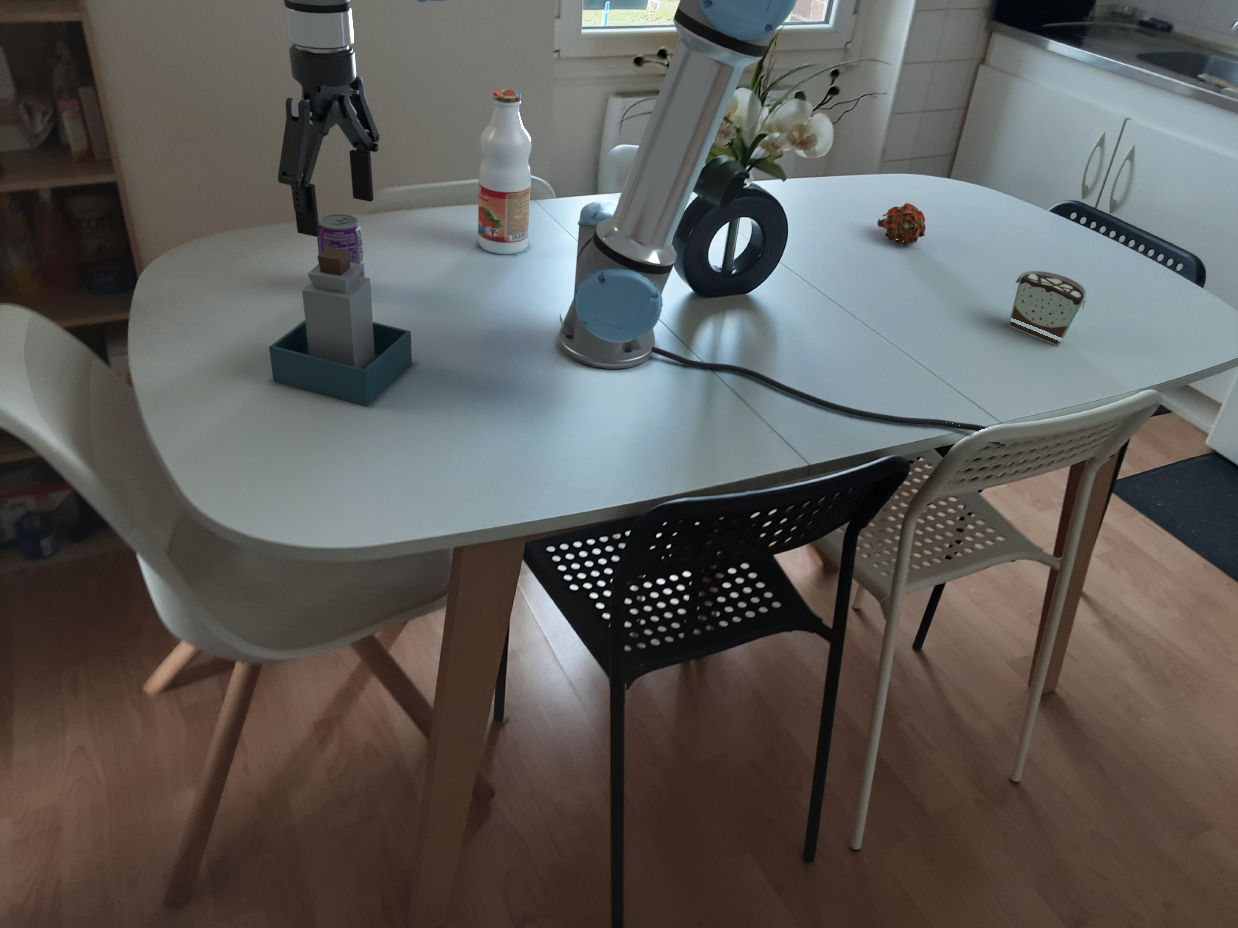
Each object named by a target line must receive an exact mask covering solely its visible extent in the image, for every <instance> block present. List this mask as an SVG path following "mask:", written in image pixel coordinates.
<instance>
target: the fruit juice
mask: <svg viewBox="0 0 1238 928" xmlns="http://www.w3.org/2000/svg"><path fill="white" fill-rule="evenodd" d="M492 102H493V104H494V107H493V113H492V116H491V119H490V121H489V123H488V125H487V126H486V127H485V128H484V129H483V131H482V132H481V135H480V138H479V148H480V152H481V156H482V157H481V162H480V164H479V168H478V206H477V207H478V209H477V211H478V213H477V214H478V215H477V216H478V219H477V220H478V221H477V241H478V244H479V246H480V247H481V249H483V250H485V251H487V252H490V253H492V254H499V255H513V254H517V253H521V252H523V251H525V249H527V247H528V244H529V232H530V231H529V230H530V210H531V209H530V205H531V185H532V175H531V172H532V171H531V167H530V164H529V159H530V155H531V153H532V138H531V136H530V134H529V132H528V131H527V129H525V127H524V125H523V122H522V118H521V114H520V105H521V103H522V93H521V92H520V91H518V90H515V89H510V88H499V89H495V90H493V92H492Z"/></svg>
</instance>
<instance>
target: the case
mask: <svg viewBox="0 0 1238 928" xmlns="http://www.w3.org/2000/svg"><path fill="white" fill-rule="evenodd" d="M373 336H374V352H375V360H374V361H373V362H372V363H371V364H370V365H369V366H368V367H366V368H365V369H360V368H357V367H353V366H349V365H345V364H341V363H337V362H333V361H329V360H326V359H322V358H318V357H314V356H310V355H309V349H308V340H307V330H306V321H305V319H304V320H302V321H301V322H300V323H299V324H298V325H296V326H294V328H292V329H291V330H290V331H288V332H287V333H285V334H284V335H283V336H282V337H280V338H279V339H277V340H276V341H274V343H272V344H270V345H269V346H268V351H269V358H270V365H271V373H272V378H273V379H272V381H273V382H275V383H278V384H283V385H286V386H290V387H294V388H297V389H300V390H301V389H302V390H306V391H309V392H313V393H316V394H320V395H324V396H328V397H331V398H335V399H339V400H343V401H347V402H350V403H354V404H358V405H360V406H361V405H362V406H364V407H369V406H370V405H371V404H372V403H373V402H374V401H375V400H377V398H378V397H380V396H381V394H383V393H384V392H385V391H386V390H387V389H388V388H389V387H390V386H391V385H392V384H393V383H395V381H396V380H397V379H398V378H399V377H400V376H401V375H403V374H404V373H405V372H406V371H407V370H408V369H409V368H410V367H411V366H412V365H413V358H412V357H413V356H412V331H411V330H407V329H404V328H399V327H396V326H392V325H387V324H383V323H381V322H376V321H373Z"/></svg>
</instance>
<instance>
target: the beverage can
mask: <svg viewBox="0 0 1238 928" xmlns="http://www.w3.org/2000/svg"><path fill="white" fill-rule="evenodd" d="M318 221H319V231H320V235H319V236H317V237H316V239H317V240H316V241H317V250H318V251H317V252H318V255H319V254H320V253H322V252H323V251H324V250H325V249H326V248H327V247H331V248H337V249H343V250H348V251H351V252H350V262H351V263H357V264H362V269H361V273H360V277H365V278H366V273H365V271H366V270H365V257H364V242H363V241H364V240H363V231H362V230H363V229H362V228H361V226H360V225H359V219H358V217H356V216H354V215H351V214H348V213H329V214H326V215H325V214H324V215H323V216H321V217H320V218H318Z"/></svg>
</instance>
